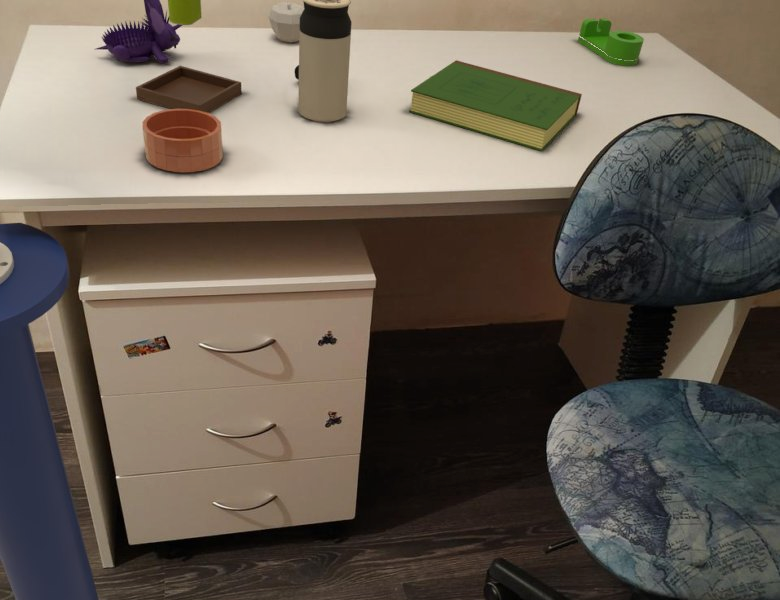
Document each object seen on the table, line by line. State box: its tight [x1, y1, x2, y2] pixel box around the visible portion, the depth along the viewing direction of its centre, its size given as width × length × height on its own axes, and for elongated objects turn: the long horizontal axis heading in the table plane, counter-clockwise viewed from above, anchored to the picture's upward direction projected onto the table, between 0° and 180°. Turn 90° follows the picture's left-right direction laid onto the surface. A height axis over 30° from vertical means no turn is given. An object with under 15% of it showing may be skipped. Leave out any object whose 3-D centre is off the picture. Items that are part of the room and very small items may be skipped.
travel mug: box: [297, 0, 352, 123], centre depth 127 cm, size 8×8×18 cm
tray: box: [135, 65, 243, 114], centre depth 133 cm, size 12×12×2 cm
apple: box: [268, 2, 304, 44], centre depth 156 cm, size 8×8×7 cm
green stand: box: [577, 17, 645, 67], centre depth 169 cm, size 15×7×5 cm, turn 22°
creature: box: [95, 0, 183, 64], centre depth 140 cm, size 9×18×12 cm, turn 107°
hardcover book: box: [408, 59, 583, 152], centre depth 139 cm, size 25×19×4 cm
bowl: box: [141, 108, 224, 173], centre depth 115 cm, size 11×11×5 cm
